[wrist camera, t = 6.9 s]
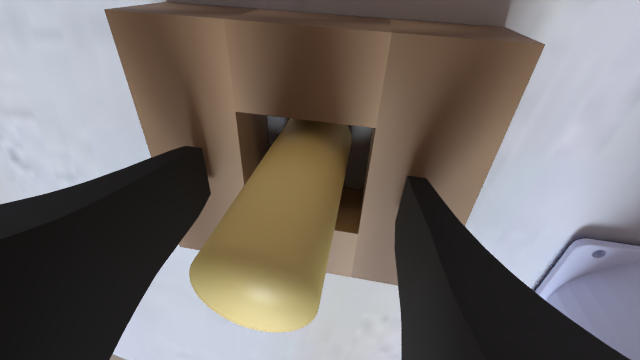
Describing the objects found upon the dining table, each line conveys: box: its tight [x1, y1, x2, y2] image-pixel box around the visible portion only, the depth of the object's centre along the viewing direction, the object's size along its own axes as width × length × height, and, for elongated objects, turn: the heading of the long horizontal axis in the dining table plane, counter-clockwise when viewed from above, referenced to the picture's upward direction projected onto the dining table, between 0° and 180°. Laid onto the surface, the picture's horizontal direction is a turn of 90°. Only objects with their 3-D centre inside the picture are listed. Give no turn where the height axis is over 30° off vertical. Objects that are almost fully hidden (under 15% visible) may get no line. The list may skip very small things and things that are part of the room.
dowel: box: [189, 118, 352, 332], centre depth 10 cm, size 3×3×8 cm
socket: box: [105, 2, 545, 285], centre depth 12 cm, size 12×10×3 cm
